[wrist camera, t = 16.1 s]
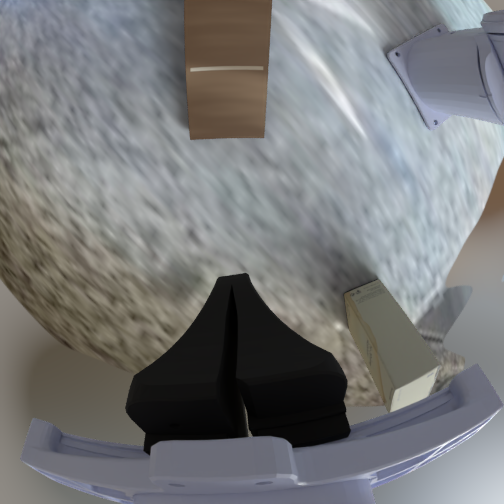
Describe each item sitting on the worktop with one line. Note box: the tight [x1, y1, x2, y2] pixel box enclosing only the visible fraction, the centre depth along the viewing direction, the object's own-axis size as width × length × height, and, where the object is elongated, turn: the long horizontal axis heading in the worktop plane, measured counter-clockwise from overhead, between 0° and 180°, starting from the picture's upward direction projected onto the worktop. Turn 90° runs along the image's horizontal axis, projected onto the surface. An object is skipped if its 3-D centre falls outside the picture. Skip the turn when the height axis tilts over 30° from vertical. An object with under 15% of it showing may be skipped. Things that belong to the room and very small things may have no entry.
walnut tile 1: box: [184, 0, 272, 140], centre depth 14 cm, size 2×5×10 cm
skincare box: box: [344, 279, 440, 413], centre depth 22 cm, size 6×4×12 cm
